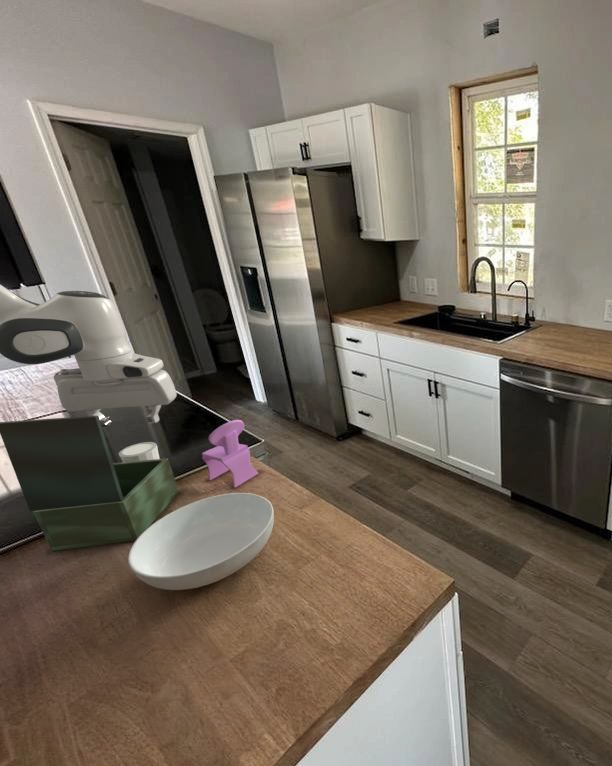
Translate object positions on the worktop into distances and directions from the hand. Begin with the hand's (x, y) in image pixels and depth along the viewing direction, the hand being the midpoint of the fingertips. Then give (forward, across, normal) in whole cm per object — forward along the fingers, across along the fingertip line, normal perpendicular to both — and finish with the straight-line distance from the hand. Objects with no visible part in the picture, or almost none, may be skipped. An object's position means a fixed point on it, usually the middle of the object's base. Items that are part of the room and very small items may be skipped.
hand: (130, 423), depth 94 cm
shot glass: (+14, 0, 0) cm, 14 cm away
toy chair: (+14, +20, -5) cm, 25 cm away
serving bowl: (+14, +27, -33) cm, 44 cm away
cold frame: (+14, +4, -17) cm, 22 cm away
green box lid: (-4, +4, -23) cm, 24 cm away
